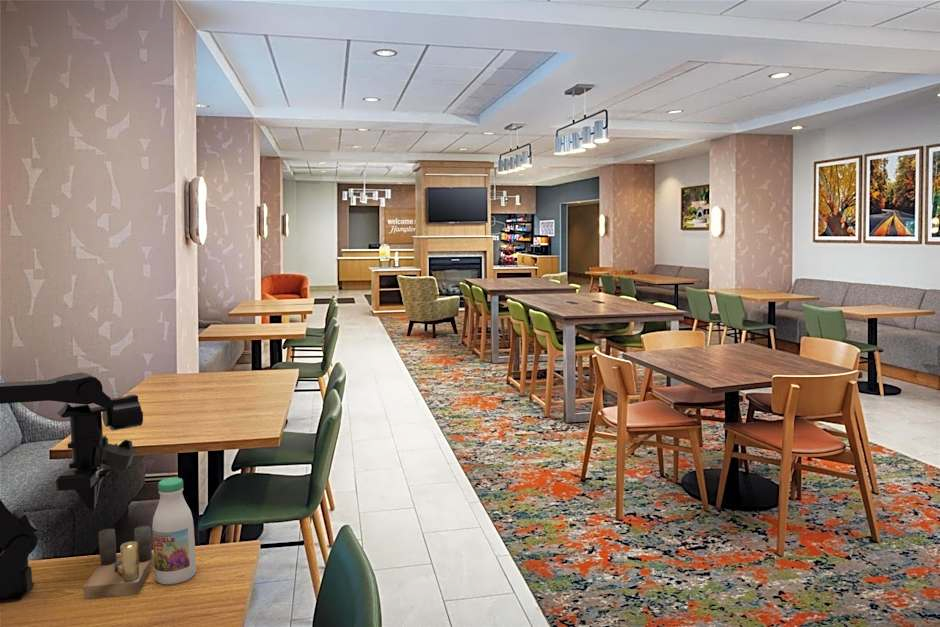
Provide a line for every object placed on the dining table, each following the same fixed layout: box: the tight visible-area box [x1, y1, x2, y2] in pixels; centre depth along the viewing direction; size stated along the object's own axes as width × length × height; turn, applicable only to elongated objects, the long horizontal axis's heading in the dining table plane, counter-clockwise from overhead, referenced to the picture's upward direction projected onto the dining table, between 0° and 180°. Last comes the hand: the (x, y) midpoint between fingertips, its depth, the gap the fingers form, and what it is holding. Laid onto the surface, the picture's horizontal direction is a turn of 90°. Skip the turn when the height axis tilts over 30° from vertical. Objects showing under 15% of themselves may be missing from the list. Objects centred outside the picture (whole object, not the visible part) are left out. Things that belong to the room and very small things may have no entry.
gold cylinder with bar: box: [118, 540, 140, 581], centre depth 137 cm, size 6×3×6 cm, turn 47°
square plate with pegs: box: [82, 525, 154, 600], centre depth 140 cm, size 10×12×9 cm
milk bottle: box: [151, 477, 197, 585], centre depth 142 cm, size 8×8×20 cm
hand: (91, 509), depth 145 cm, fingers closed
